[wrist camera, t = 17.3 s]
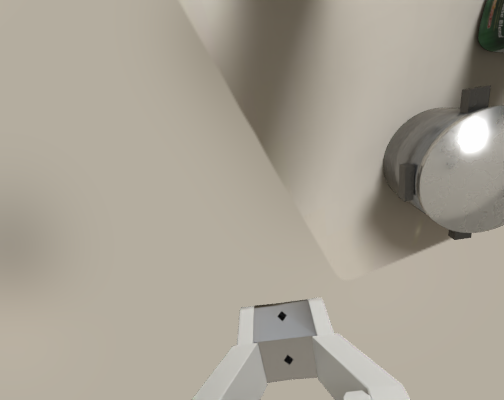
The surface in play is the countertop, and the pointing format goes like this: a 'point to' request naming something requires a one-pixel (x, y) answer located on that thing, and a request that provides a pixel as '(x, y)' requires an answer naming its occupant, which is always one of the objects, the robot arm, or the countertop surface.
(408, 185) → the pot
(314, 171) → the countertop surface
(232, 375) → the robot arm
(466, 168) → the lid
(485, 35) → the coffee jar
